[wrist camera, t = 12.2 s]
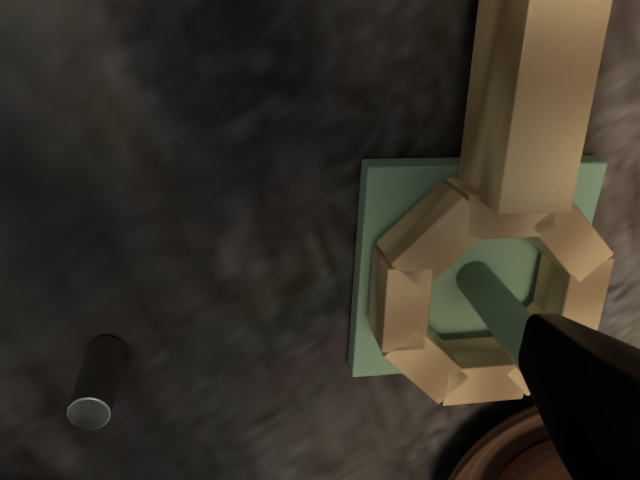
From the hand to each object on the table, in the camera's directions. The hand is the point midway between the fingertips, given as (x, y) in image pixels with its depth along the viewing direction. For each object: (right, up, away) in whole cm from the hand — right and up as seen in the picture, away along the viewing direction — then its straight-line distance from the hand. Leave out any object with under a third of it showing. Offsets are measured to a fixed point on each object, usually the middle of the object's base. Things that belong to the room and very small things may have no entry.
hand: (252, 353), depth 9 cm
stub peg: (-7, -3, +13) cm, 15 cm away
